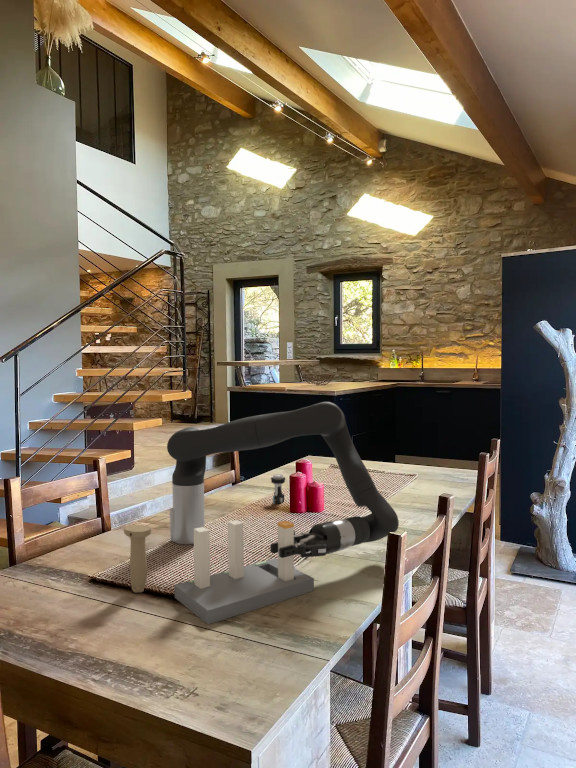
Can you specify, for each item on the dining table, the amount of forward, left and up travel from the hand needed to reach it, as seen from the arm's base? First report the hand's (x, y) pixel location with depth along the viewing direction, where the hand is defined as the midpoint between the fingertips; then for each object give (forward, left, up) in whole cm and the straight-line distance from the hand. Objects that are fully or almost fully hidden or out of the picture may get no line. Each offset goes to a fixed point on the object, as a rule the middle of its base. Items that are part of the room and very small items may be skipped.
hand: (275, 550), depth 136 cm
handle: (-32, -6, -10) cm, 34 cm away
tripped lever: (+2, +2, -8) cm, 9 cm away
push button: (-20, +75, -10) cm, 78 cm away
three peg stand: (-7, -2, -10) cm, 12 cm away
